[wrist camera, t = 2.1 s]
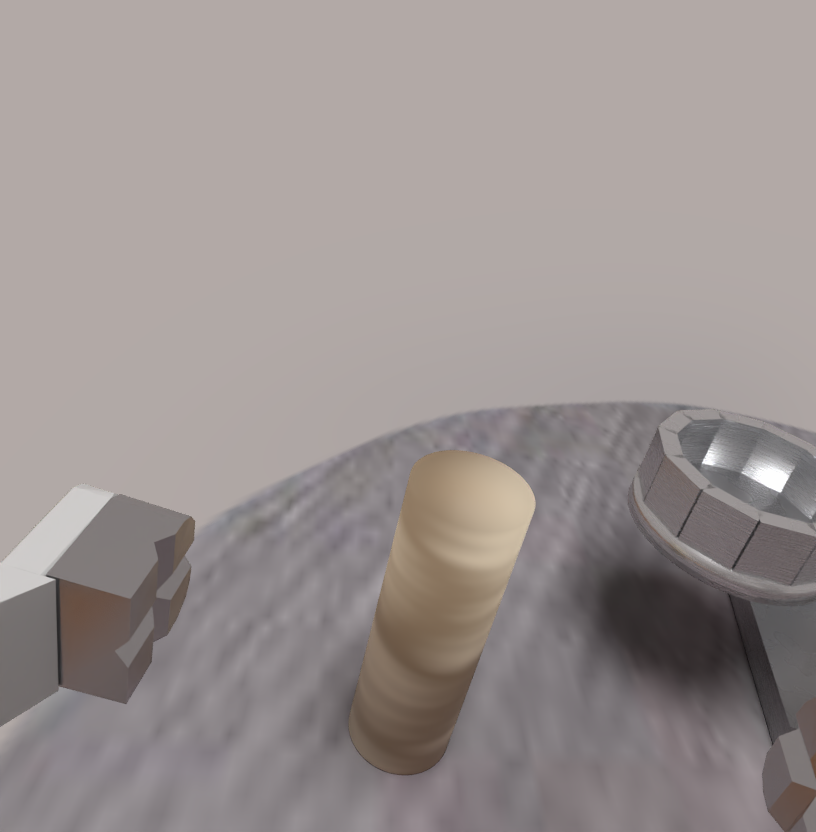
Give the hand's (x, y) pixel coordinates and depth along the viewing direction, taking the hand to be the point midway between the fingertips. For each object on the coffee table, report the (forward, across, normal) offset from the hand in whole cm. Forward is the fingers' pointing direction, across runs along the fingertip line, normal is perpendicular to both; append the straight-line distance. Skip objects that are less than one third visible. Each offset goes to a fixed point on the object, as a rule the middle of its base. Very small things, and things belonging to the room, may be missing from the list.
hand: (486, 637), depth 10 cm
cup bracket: (+21, -17, +18) cm, 33 cm away
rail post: (+12, -1, +18) cm, 22 cm away
